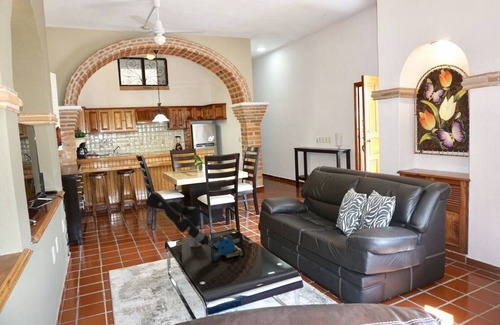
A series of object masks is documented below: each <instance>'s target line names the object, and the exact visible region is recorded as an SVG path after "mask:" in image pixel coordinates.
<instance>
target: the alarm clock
mask: <svg viewBox="0 0 500 325" xmlns="http://www.w3.org/2000/svg"><path fill="white" fill-rule="evenodd" d="M233 239H234V238H233V236H232V235H231V234H229V235H228V234H227V236H223V235H221V236H219V237H218V241H217V242H216V247H217V248H218V251H217V252H218V253H220V255H223V256H225V257H226V254H229V253H234V252H235V251H234V249H235V245H236V244H235V241H234V240H233Z"/></svg>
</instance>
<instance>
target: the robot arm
mask: <svg viewBox="0 0 500 325" xmlns="http://www.w3.org/2000/svg"><path fill="white" fill-rule="evenodd" d="M145 200H146V201H145V204H146V205H147V206H148V207H150V208H153V209H157V210H162V211H164V213H165V215H166V217H167V218H168V219H169V220H170V221H171V222H172V223H174V225H175V226H176V228H177V230H178V231H179V232H180V233H185V232H186V231H187V230H188V232H187V234H188V238H189V239H188V240H189V246H190V248H198V247H200V246H204V245H206V246H207V247H208V248H210V249H212V250H214V251H215V252H219V251H218V248H217V246H216V245H214V243H213V242H212V241H210V240H209V238H210V236H208V235H207V234H206V233H204V232H203V231H201V230H200V219H201V218H200V210H199V208H198V207H196V206H185V205H183V204H181V203H180V202H179V201H175V200H172V199H171V200H166V199H165V198H164V197H163V196H162V195H161V194H160V193H159V192H158V191H151V193H150V194H149V195H148V197H147V198H146V199H145ZM182 216H184V217H183V218H182ZM181 218H182V219H181Z"/></svg>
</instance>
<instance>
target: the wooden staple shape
mask: <svg viewBox="0 0 500 325" xmlns="http://www.w3.org/2000/svg"><path fill="white" fill-rule="evenodd" d="M236 256H243V250H242V249H241V248H239V247H238V246H237V245H236V244H235V249H234V251H233V252H232V253H229V254H226V256H225V257H226V258H227V259H228V258H232V257H236Z"/></svg>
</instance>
